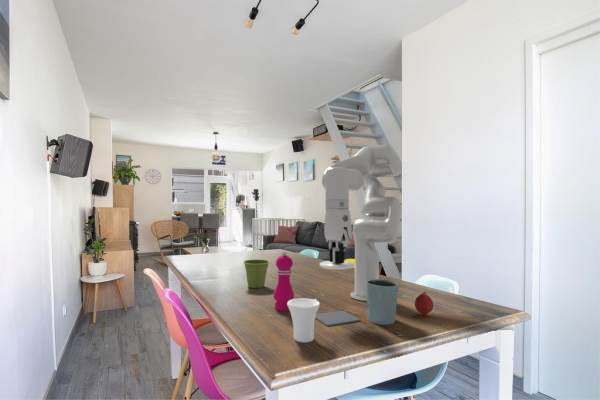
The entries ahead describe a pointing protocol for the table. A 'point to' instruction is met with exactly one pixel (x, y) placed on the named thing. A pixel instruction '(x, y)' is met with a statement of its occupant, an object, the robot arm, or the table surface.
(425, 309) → the onion
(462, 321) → the table surface
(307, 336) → the cup
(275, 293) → the pepper mill
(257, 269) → the plant pot
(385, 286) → the blue round container
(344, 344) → the table surface
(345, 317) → the mat
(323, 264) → the lid
